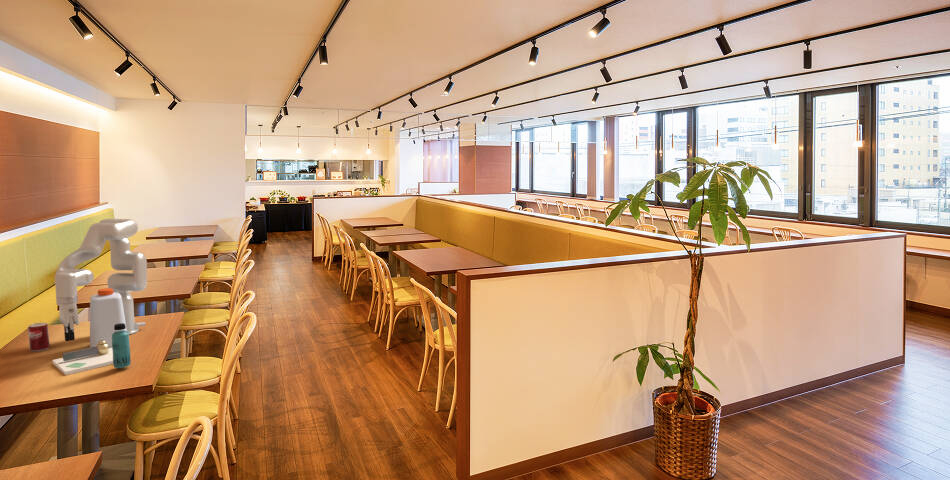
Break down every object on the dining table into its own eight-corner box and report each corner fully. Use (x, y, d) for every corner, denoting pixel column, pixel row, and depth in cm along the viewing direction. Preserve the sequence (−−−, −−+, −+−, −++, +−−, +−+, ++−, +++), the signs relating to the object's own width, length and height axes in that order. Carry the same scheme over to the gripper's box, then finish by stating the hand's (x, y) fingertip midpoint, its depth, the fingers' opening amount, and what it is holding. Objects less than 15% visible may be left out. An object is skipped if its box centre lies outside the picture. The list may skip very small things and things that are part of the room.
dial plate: (112, 350, 252) (112, 346, 252) (128, 360, 240) (127, 356, 239) (52, 363, 234) (52, 359, 234) (65, 375, 222) (65, 371, 222)
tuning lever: (106, 350, 246) (105, 339, 245) (109, 352, 243) (109, 341, 242) (62, 360, 233) (61, 348, 232) (65, 362, 230) (64, 350, 230)
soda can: (38, 352, 247) (36, 327, 246) (25, 351, 249) (23, 326, 247) (53, 347, 254) (51, 323, 253) (41, 346, 256) (39, 321, 254)
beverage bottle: (118, 366, 233) (115, 321, 230) (134, 365, 234) (131, 321, 231) (110, 371, 227) (106, 326, 224) (126, 371, 227) (123, 326, 224)
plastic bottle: (129, 347, 256) (125, 290, 253) (90, 353, 247) (86, 294, 244) (126, 339, 268) (122, 284, 265) (89, 344, 259) (85, 288, 255)
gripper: (82, 301, 233) (85, 342, 235) (72, 296, 243) (75, 335, 245) (61, 304, 228) (64, 345, 230) (51, 298, 237) (54, 338, 239)
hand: (69, 340), depth 237 cm, fingers closed
